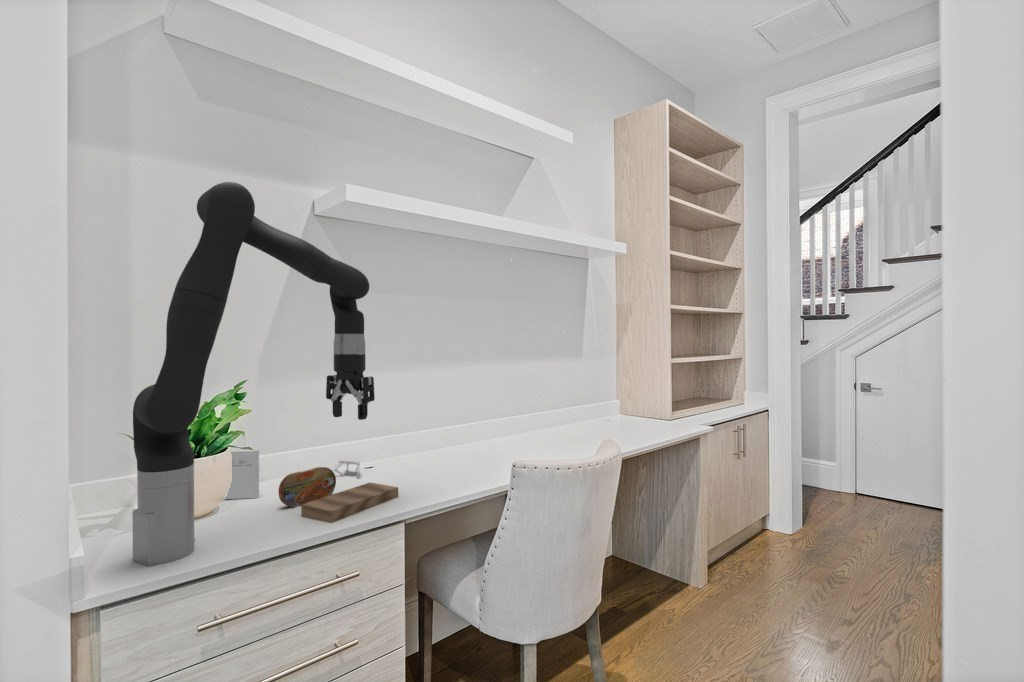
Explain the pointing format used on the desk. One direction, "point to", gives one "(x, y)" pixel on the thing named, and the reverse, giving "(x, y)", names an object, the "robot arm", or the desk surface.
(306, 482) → the tin
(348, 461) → the origami figure
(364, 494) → the walnut riser
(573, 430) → the desk surface
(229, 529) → the desk surface
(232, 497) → the external hard drive
